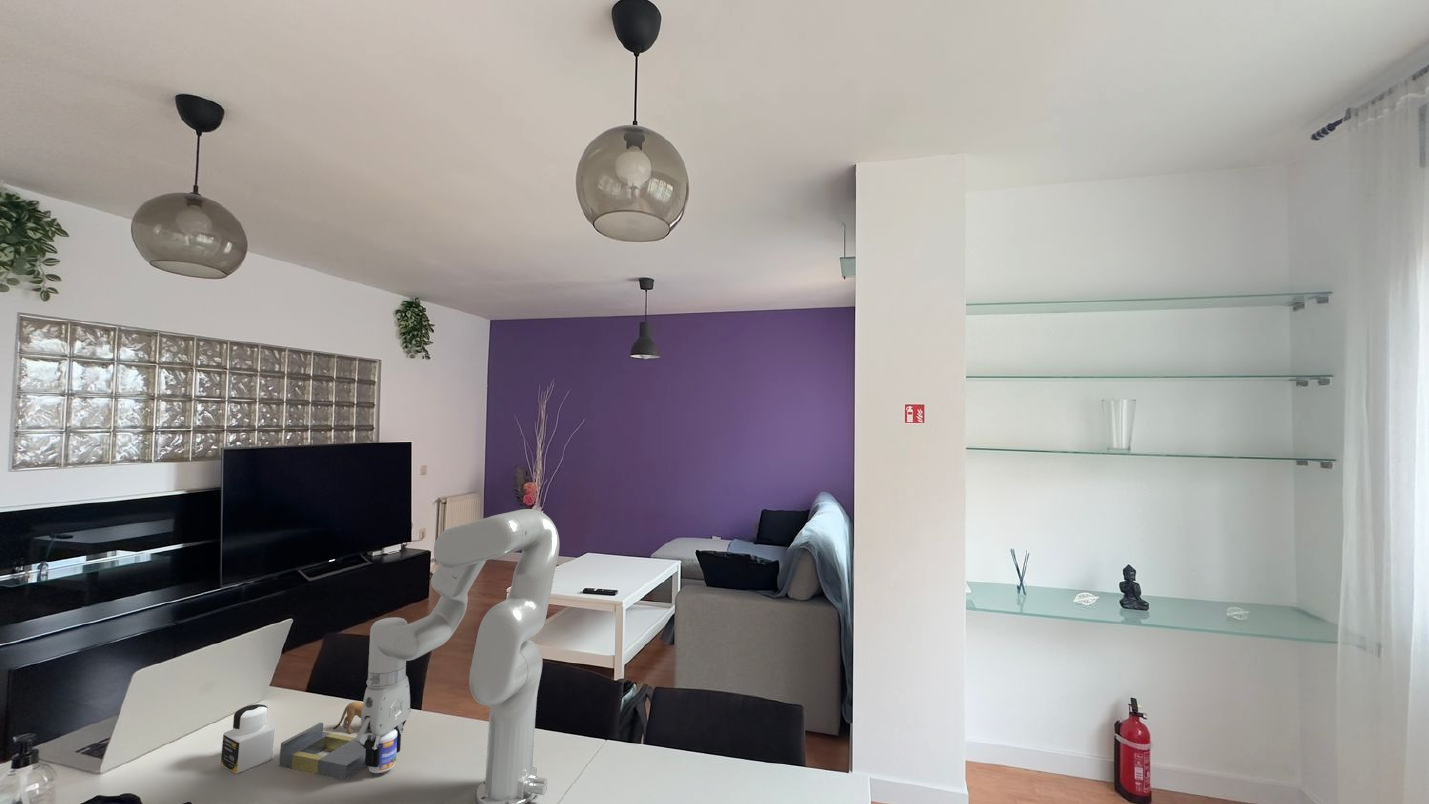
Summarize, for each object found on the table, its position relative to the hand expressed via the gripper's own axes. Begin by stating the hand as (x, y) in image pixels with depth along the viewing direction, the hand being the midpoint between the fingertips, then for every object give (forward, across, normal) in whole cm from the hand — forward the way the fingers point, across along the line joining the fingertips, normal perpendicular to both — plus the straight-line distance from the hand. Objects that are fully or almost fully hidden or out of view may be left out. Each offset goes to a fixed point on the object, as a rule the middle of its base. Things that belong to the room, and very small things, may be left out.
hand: (382, 757), depth 131 cm
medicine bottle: (+2, -6, +31) cm, 32 cm away
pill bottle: (+2, 0, 0) cm, 2 cm away
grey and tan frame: (+2, 0, +14) cm, 14 cm away
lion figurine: (+3, +14, +18) cm, 23 cm away
